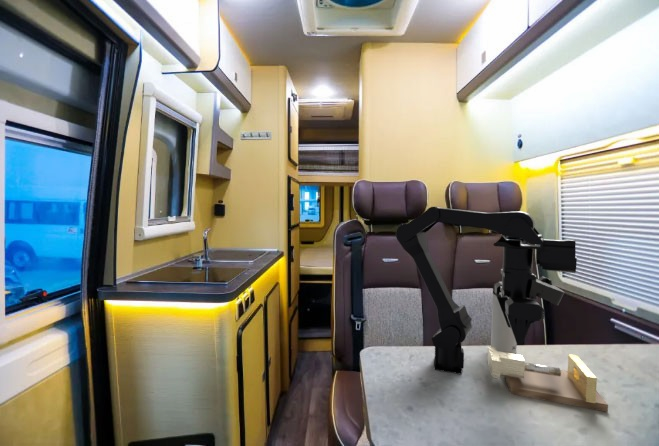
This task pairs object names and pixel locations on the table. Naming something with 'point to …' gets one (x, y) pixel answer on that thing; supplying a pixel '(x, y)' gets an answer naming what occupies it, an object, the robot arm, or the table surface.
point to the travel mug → (501, 329)
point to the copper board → (552, 389)
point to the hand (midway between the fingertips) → (514, 335)
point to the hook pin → (515, 365)
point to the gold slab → (582, 378)
